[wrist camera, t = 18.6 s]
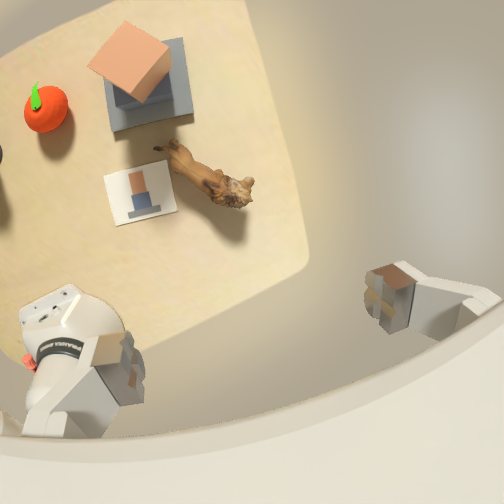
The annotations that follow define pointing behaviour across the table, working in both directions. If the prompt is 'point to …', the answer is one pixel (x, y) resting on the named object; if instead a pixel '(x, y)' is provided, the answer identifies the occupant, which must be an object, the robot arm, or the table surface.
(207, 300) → the table surface
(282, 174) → the table surface
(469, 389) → the robot arm
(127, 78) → the terracotta brick
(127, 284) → the table surface
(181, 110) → the tower base
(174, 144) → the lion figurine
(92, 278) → the table surface
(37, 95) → the clementine
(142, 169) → the page
